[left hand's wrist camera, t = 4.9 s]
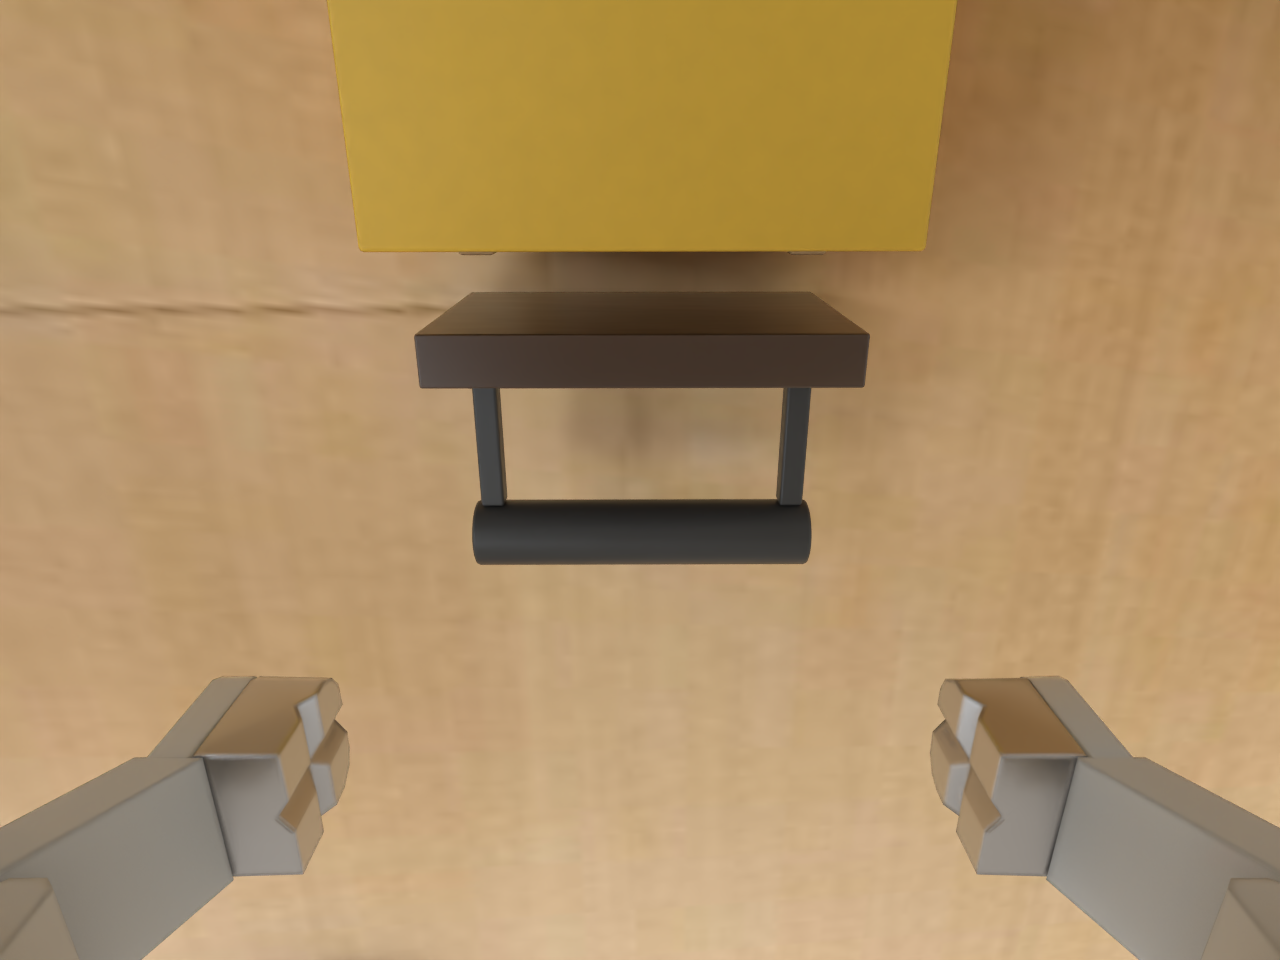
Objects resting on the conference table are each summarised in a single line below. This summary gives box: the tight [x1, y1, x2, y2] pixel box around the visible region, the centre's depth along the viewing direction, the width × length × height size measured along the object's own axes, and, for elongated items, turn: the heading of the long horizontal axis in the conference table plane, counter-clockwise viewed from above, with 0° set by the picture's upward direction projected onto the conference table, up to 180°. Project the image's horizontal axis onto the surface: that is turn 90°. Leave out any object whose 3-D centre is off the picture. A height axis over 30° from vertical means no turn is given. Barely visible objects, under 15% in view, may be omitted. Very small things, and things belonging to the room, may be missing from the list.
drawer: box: [414, 251, 870, 565], centre depth 18 cm, size 20×10×6 cm, turn 0°
